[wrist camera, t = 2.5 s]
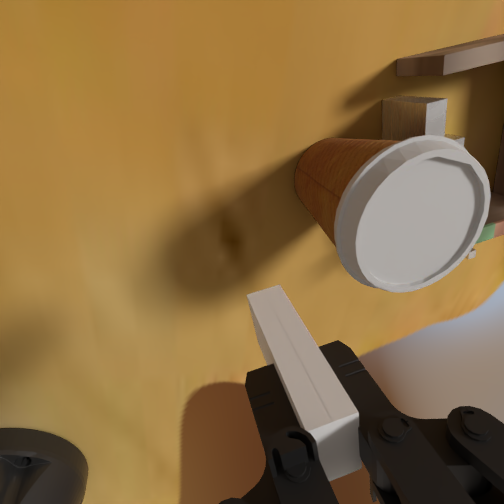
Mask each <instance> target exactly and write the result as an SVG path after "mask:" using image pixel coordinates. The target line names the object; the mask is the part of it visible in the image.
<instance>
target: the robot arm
mask: <svg viewBox="0 0 504 504" xmlns="http://www.w3.org/2000/svg"><path fill="white" fill-rule="evenodd" d="M247 298H248V303H249V307H250V311H251V315H252V319H253V323H254V327H255V331H256V335H257V339H258V343H259V345H260V348H261V350H262V353H263V355H264V358H265V360H266V363H267V366H264V367H262V368H259V369H256V370H253V371H250V372H247V377H246V383H245V387H246V391H247V394H248V397H249V401H250V404H251V408H252V411H253V414H254V417H255V421H256V424H257V428H258V431H259V434H260V438H261V441H262V444H263V447H264V451H265V455H266V467H265V470H264V474H263V476H262V477H261V479H260V481H259V482H258V483H257V484H256V486H255V487H254V488H253V489H251V490H250V491H249V492H248V493H247V494H246V495H244V496H243V497H242V498H241V499H239V498H230V499H227V500H224V501H221V502H220V503H219V504H339V503H338V501H337V499H336V496H335V494H334V492H333V489H332V487H331V485H330V483H329V481H332V480H334V479H336V478H339V477H341V476H344V475H346V474H349V473H351V472H354V471H356V470H359V469H361V468H362V463H361V460H362V461H363V463H364V465H365V467H366V469H367V470H368V472H369V474H370V494H371V497H372V500H373V502H375V501H376V496H377V498H378V500H379V502H380V504H504V424H503V423H502V422H500V421H499V420H498V419H496V418H495V417H493V416H492V415H491V414H489V413H487V412H485V411H483V410H481V409H479V408H475V407H471V406H461V407H458V408H455V409H453V410H452V411H451V412H450V414H449V415H448V418H447V419H417V418H413V417H409V416H407V415H405V414H403V413H401V412H400V411H398V410H397V409H396V408H395V407H394V406H393V405H392V404H391V403H390V402H389V400H388V399H387V397H386V396H385V395H384V393H383V392H382V391H381V389H380V388H379V386H378V385H377V384H376V382H375V381H374V380H373V378H372V377H371V376H370V374H369V373H368V371H367V370H365V368H364V366H363V365H362V363H361V362H360V361H359V360H358V358H357V356H356V355H355V354H354V352H353V351H352V350H351V348H350V347H348V346H346V345H345V344H343V343H342V342H340V341H339V340H337V341H334V342H331V343H328V344H326V345H323V346H320V347H318V346H317V344H316V342H315V341H314V339H313V338H312V336H311V334H310V333H309V331H308V329H307V328H306V326H305V325H304V323H303V321H302V320H301V318H300V317H299V315H298V313H297V312H296V310H295V308H294V307H293V305H292V304H291V302H290V300H289V299H288V297H287V295H286V294H285V292H284V291H283V289H282V287H281V286H280V285H276V286H273V287H270V288H267V289H264V290H261V291H257V292H254V293H251V294H248V295H247ZM87 477H88V465H87V461H86V459H85V457H84V455H83V454H82V453H81V451H80V450H79V449H78V448H77V447H76V446H74V445H73V444H72V443H70V442H69V441H67V440H65V439H63V438H61V437H59V436H56V435H53V434H50V433H47V432H42V431H38V430H31V429H20V428H4V429H0V504H82V502H83V499H84V495H85V490H86V484H87Z"/></svg>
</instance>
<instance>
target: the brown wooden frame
mask: <svg viewBox="0 0 504 504" xmlns="http://www.w3.org/2000/svg"><path fill="white" fill-rule="evenodd" d="M503 60H504V34H502V35H497V36H493V37H489V38H485V39H480V40H476V41H472V42H468V43H463V44H459V45H455V46H451V47H446V48H442V49H438V50H434V51H429V52H425V53H421V54H416V55H412V56H408V57H404V58H399V59H397V76H438V75H447V74H451V73H455V72H459V71H463V70H467V69H471V68H475V67H479V66H483V65H487V64H491V63H495V62H499V61H503ZM490 194H491V198H490V205H489V211H488V217H487V219H486V222H485V224H484V227H483V229H482V232H481V234H480V237H479V238H478V240H477V241H476V243H475V244H477V243H480V242H483V241H486V240H489V239H492V238H495V237H498V236H501V235H504V126H503V132H502V138H501V144H500V151H499V157H498V163H497V169H496V176H495V182H494V188H493V192H492V193H490Z"/></svg>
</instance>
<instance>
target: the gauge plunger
mask: <svg viewBox="0 0 504 504" xmlns="http://www.w3.org/2000/svg"><path fill="white" fill-rule="evenodd" d="M446 109H447V98H431V97H415V96H396V97H392V98H388V99H384V100H382V140H393V141H403V140H405V139H408V138H410V137H417V136H423V135H435V136H444V137H446V138H449V139H452V140H454V141H456V142H457V143H459V144H461V145H462V146H463V147H464V140H465V137H461V136H455V135H450V134H445V121H446ZM444 134H445V135H444ZM475 255H476V250H475V249H473V248H472V249H471V251H470V252H469V253H468V255H467V256H466V257H465V258H467V259H470V258H473V257H475Z"/></svg>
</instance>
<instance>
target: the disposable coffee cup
mask: <svg viewBox="0 0 504 504" xmlns="http://www.w3.org/2000/svg"><path fill="white" fill-rule="evenodd" d="M294 183H295V189H296V193H297V195H298V197H299V199H300V200H301V201H302V203H303V204H304V205H305V206H306V208H307V209H308V210H309V212H310V213H311V215H312V216H313V217H314V219H315V220H316V221H317V222H318V224H319V225H320V226H321V228H322V229H323V230H324V232H325V233H326V234H327V236H328V237H329V238H330V240H331V241H332V242H333V244H334V245H335V246H336V249H337V253H338V255H339V258H340V260H341V263H342V265H343V266H344V268H345V269H346V270H347V272H348V273H349V274H350V275H351V276H352V277H353V278H354V279H356V280H357V281H359V282H360V283H362V284H364V285H367V286H370V287H373V288H380V289H382V290H386V291H390V292H409V291H415V290H418V289H420V288H423V287H426V286H429V285H431V284H432V283H434V282H436V281H438V280H440V279H441V278H443V277H444V276H446V275H447V274H448V273H449V272H451V271H452V270H453V269H454V268H455V267H457V266H458V264H459V263H460V262H461V261H462V260H463V259H464V258H465V257H466V256H467V255H468V253H469V252H470V251H471V249H472V247H473V246H474V244H475V243H476V241H477V240H478V238H479V237H480V234H481V232H482V229H483V227H484V224H485V222H486V219H487V217H488V211H489V205H490V198H491V194H490V186H489V180H488V177H487V175H486V172H485V170H484V168H483V167H482V166H481V165H480V163H479V162H478V161H477V160H476V159H475V158H474V157H473V156H471V155H470V154H469V152H468V151H467V150H466V149H465V148H464V147H463V146H462V145H461V144H459V143H457V142H456V141H454V140H452V139H449V138H446V137H444V136H435V135H423V136H417V137H410V138H408V139H405V140H403V141H393V140H370V139H345V138H327V139H324V140H321V141H318V142H317V143H315V144H314V145H312V146H311V147H310V148H309V149H308V150H307V151H306V152H305V153H304V154H303V156H302V157H301V159H300V161H299V163H298V165H297V168H296V171H295V177H294Z"/></svg>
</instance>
